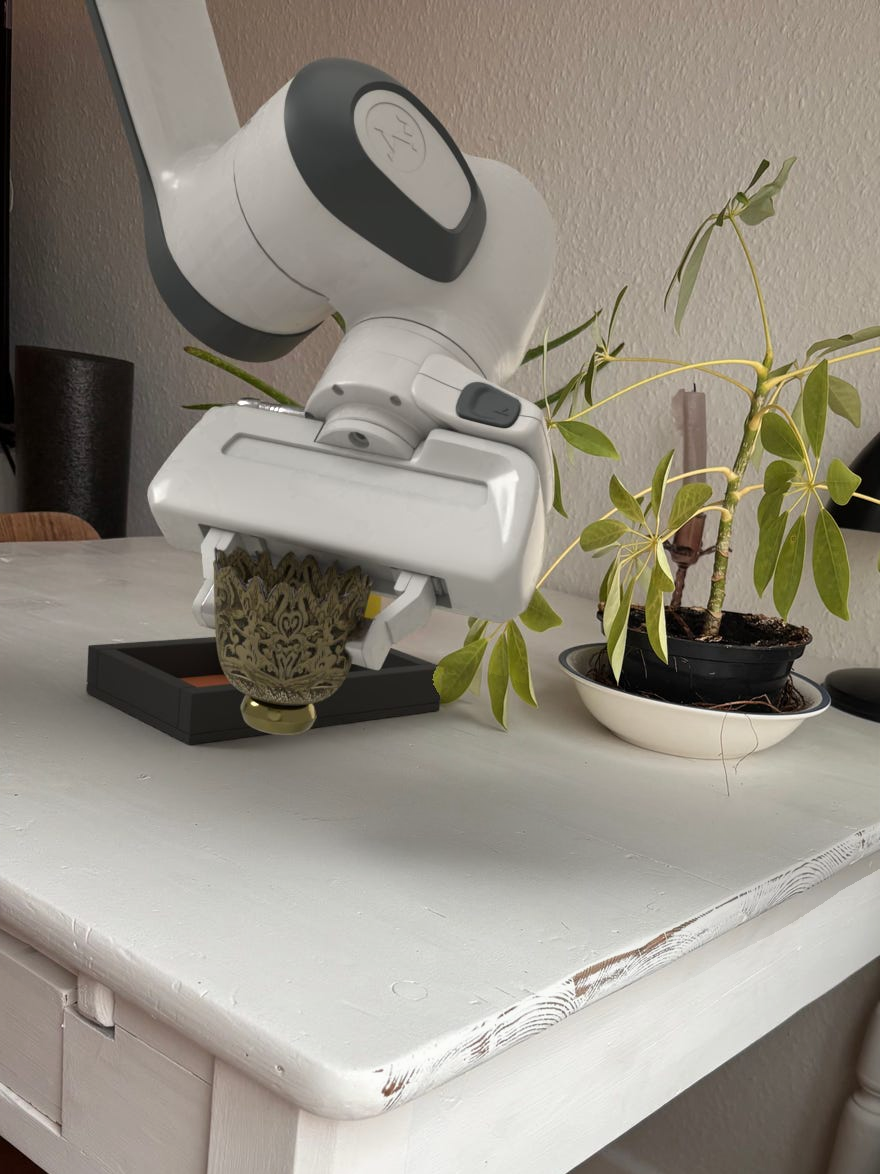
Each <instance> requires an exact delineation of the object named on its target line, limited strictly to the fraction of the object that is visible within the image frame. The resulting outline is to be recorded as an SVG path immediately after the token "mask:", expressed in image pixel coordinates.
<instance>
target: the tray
mask: <svg viewBox="0 0 880 1174" xmlns="http://www.w3.org/2000/svg"><path fill="white" fill-rule="evenodd" d="M437 666H439V665H438V664H436V663H433V662H430V661H427V660H424V659H422V658H419V657H417V656H415V655H411V654H408V653H406V652H403V651H401V650H398V649H395V648H393V647H391V648H390V650H389V652H388V654H387V656H386V658H385V660H384V663H383V665H382V667H381V668H380V669H379V670H374V669H370V668H366V667H362V666H358V665H355V664H351V667H350V669H349V671H348V674H347V676H346V678H345V680H344V681H343V683H342V684H341V686H340V687H339V688H338V689H337V690H336V691H335V692H334V693H333V694H332V695H331V696H329V697H327V698H326V699H324V700H322V701H319V702H316V703H314V705H315V709H316V713H317V716H316V719H315V721H314V723H313V725H312V726H311V727H310V729H314V728H320V727H329V726H336V725H342V724H350V723H358V722H364V721H373V720H378V719H380V720H381V719H387V718H393V717H394V718H395V717H401V716H402V717H403V716H408V715H410V716H411V715H415V714H423V713H428V712H429V713H430V712H438V711H440V706H441V699H442V698H440V695H439V693H438V692H437V690H436V688H435V686H434V685H433V683H434V681H433V680H432V679H433V674H434V671H435V670H436V667H437ZM86 670H87V671H86V672H87V673H86V693H87V694H88V695H91V696H92V697H94V698H97V699H98V700H100V701H103V702H104V703H106V704H108V705H110V706H112V707H114V708H116V709H118V710H120V711H122V712H124V713H126V714H128V715H130V716H132V717H133V718H135V719H137V720H140V721H141V722H143V723H145V724H147V725H149V726H151V727H153V728H155V729H157V730H159V731H161V732H163V733H165V734H167V735H169V736H171V737H173V738H175V739H177V740H179V741H181V742H183V743H184V744H187V745H188V746H190V745H197V744H204V743H212V742H220V741H228V740H235V739H241V738H248V737H255V736H256V737H257V736H262V735H264V736H265V735H270V734H271V733H266V732H262V731H259V730H257V729H255V728H253V727H251V726H249V725H248V724H247V723H246V722H245V721H244V719H243V717H242V714H241V710H240V704H241V702H242V700H243V698H244V696H245V695H246V694H244V693H242V692H241V691H239V690H238V689H237V688H235V687H234V686H233V685H232V684H231V683H230V681H229V680H228V679H227V677H226V676H225V674H224V672H223V670H222V667H221V664H220V661H219V657H218V651H217V644H216V636H207V637H191V638H178V639H163V640H162V639H161V640H149V641H148V640H147V641H134V642H133V641H132V642H117V643H102V644H101V643H100V644H89V645H87V669H86ZM271 735H272V734H271Z"/></svg>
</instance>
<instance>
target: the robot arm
mask: <svg viewBox="0 0 880 1174" xmlns="http://www.w3.org/2000/svg"><path fill="white" fill-rule="evenodd" d="M84 3H85V7H86V10H87V14H88V17H89V20H90V23H91V27H92V30H93V33H94V36H95V40H96V42H97V46H98V49H99V52H100V56H101V59H102V62H103V65H104V69H105V72H106V75H107V77H108V82H109V85H110V88H111V90H112V95H113V97H114V101H115V104H116V107H117V110H118V113H119V117H120V120H121V123H122V127H123V129H124V130H123V131H124V133H125V136H126V140H127V142H128V145H129V150H130V153H131V156H132V160H133V163H134V167H135V171H136V174H137V180H138V183H139V188H140V189H139V190H140V195H141V205H142V216H143V217H142V218H143V235H144V237H143V238H144V246H145V254H146V260H147V264H148V267H149V271H150V275H151V277H152V280H153V282H154V285H155V287H156V289H157V291H158V293H159V295H160V298H161V299H162V301H163V303H164V304H165V305H166V308H167V309H168V310H169V312H170V313H171V315H172V316H173V317H174V318H175V319H176V321H177V322H178V323H179V324H180V326H182V327H183V328H184V329H185V330H186V331H187V333H189V334H190V335H191V336H193V337H194V338H195V339H196V340H198V341H199V342H200V343H202V344H203V345H204V346H205V347H208V348H209V349H211V350H213V351H214V352H216V353H218V354H220V355H222V356H225V357H227V358H230V359H233V360H235V361H240V362H245V363H252V364H253V363H254V364H255V363H256V364H261V363H269V362H273V361H276V360H279V359H282V358H284V357H285V356H287V355H289V354H290V353H291V352H292V351H293V350H294V349H296V347H298V346H299V345H300V344H301V343H302V342H303V341H304V340H306V339H307V338H308V337H309V336H310V335H311V334H313V332H315V331H316V330H317V329H318V328H319V327H320V326H321V325H322V324H323V323H324V322H325V321H326V320H327V319H328V318H329V317H331V316H332V315H334V314H335V313H338V314H339V315H340V316H341V317H342V319H343V321H344V325H345V331H344V336H343V337H342V338H341V339H342V340H341V341H340V342H339V344H338V346H337V348H336V350H335V352H334V353H333V355H332V358H331V359H330V360H329V362H328V364H327V366H326V368H325V370H324V372H323V373H322V375H321V377H320V379H319V380H318V382H317V384H316V386H315V387H314V389H313V391H312V393H311V394H310V397H309V398H308V400H307V401H306V404H305V407H304V406H299V405H294V404H286V403H285V404H284V403H273V402H269V401H268V402H267V401H264V400H263V399H261V398H257V397H250V396H243V397H238V399H237V400H236V402H229V403H225V404H222V405H220V406H217V405H216V406H213V407H211V408H209V409H208V410H207V411H206V412H205V413H204V414H203V415H202V418H201V419H200V420H199V421H198V422H197V423H196V424H195V425H194V426H193V427H191V430H190V431H188V433H187V434H186V435H185V436H184V438H183V439H182V440H181V441H180V442H179V443H178V445H177V446H176V447H175V449H174V450H173V451H172V452H171V453H170V454H169V456H168V457H167V458H166V460H165V461H164V462H163V464H162V465H161V467H160V468H159V469H158V471H157V472H156V474H155V476H154V477H153V479H152V480H151V481H150V484H149V485H148V487H147V492H146V493H147V494H146V495H147V496H146V497H147V502H148V505H149V509H150V511H151V514H152V516H153V518H154V520H155V523H156V524H157V527H158V528H159V529H160V531H161V533H162V535H163V536H164V538H165V540H166V542H168V544H170V546H171V547H172V548H175V549H178V550H181V551H186V552H190V553H194V554H199V555H201V560H202V561H201V563H202V565H201V566H202V575H203V580H204V582H203V583H202V585H201V588H200V589H199V591H198V592H197V595H196V596H195V598H194V599H193V602H192V607H191V611H192V615H193V616H194V619H195V620H196V622H197V623H198V625H199V626H200V627H204V628H208V629H212V630H215V609H214V567H213V562H214V560H215V559H216V554H217V552H218V550H219V549H220V550H222V551H223V552H224V553H225V554H226V556H228V554H229V553H230V552H231V551H232V550H233V549H234V548H236V547H238V546H239V547H241V548H242V549H244V550H245V551H246V552H247V553H248V554H249V555H250V556H251V558H252V559H253V560H257V561H258V556H259V555H260V554H261V552H263V551H264V550H269V551H270V552H271V559H272V564H273V566H274V569H275V568H276V567H277V564H278V563H279V561H280V560H281V559H282V558H283V557H284V555H285V554H287V553H288V552H290V551H292V552H293V553H294V554H295V556H296V557H297V559H298V560H299V561H300V562H303V560H304V559H305V557H306V556H307V555H312V556H313V557H314V558H315V560H316V562H317V565H318V567H320V569H321V573H322V577H323V575H324V573H325V572H326V570H327V568H328V567H329V566H330V565H331V564H332V563H333V562H334V561H335V560H337V561H338V563H339V567H340V574H342V573H344V572H345V571H346V570H347V569H351V568H352V567H354V566H360V567H361V569H362V575H363V576H364V575H366V574H369V584H370V583H371V582H372V583H373V584H372V589H371V592H370V593H371V594H375V595H379V596H381V597H383V598H388V599H391V600H392V599H393V601H391V603H390V604H389V605H387V606H386V607H384V609H381V611H380V613H379V614H377V615H376V616H375V617H374V618H373V619H371V618H366V617H360V619H359V620H358V622H357V624H356V625H355V627H354V628H353V630H352V632H351V633H350V634H349V636H348V637H347V638H346V640H345V642H344V651H345V654H346V655H347V656H349V657H348V661H349V663H351V664H355V665H358V666H362V667H366V668H370V669H374V670H379V669H380V668H381V667H382V665H383V663H384V660H385V658H386V656H387V654H388V652H389V650H390V648H392V647H393V645H396V644H398V643H400V642H402V640H404V639H406V638H407V637H408V636H410V635H411V634H413V633H415V632H416V631H417V630H419V629H420V628H421V627H424V626H425V625H426V624H428V622H429V620H430V618H431V616H432V614H433V611H434V609H435V610H440V611H444V612H448V613H452V614H458V615H460V616H465V617H471V618H474V619H479V620H483V621H487V622H491V623H494V624H506V623H507V622H510V621H511V620H513V619H515V618H516V617H519V616H520V615H521V614H523V613H525V611H526V610H527V609H528V607H529V604H530V603H531V600H532V598H533V596H534V594H535V591H536V589H537V586H538V582H539V579H540V576H541V572H542V569H543V566H544V563H545V558H546V553H547V549H548V543H549V534H548V526H547V516H548V515H549V513H550V511H551V509H552V507H553V504H554V501H555V480H556V479H555V463H554V462H555V461H554V456H553V448H552V443H551V439H550V433H549V429H548V425H547V422H546V419H545V415H544V412H543V411H542V409H541V408H540V407H539V406H538V405H537V404H535V403H534V402H531V401H529V400H528V399H526V398H523V397H522V396H519V395H517V394H516V393H513V392H511V391H509V390H507V389H505V388H504V387H505V386H506V385H507V384H508V383H509V382H510V381H511V380H512V379H513V378H514V376H515V375H516V373H517V372H518V370H519V369H520V367H521V365H522V362H523V361H524V359H525V357H526V355H527V353H528V350H529V348H530V346H531V344H532V342H533V339H534V337H535V335H536V333H537V331H538V328H539V325H540V323H541V321H542V318H543V315H544V312H545V310H546V307H547V304H548V301H549V298H550V294H551V292H552V287H553V282H554V278H555V274H556V273H555V272H556V265H557V264H556V263H557V234H556V228H555V222H554V219H553V216H552V214H551V211H550V209H549V206H548V204H547V202H546V200H545V199H544V197H543V196H542V194H541V193H540V192H539V191H538V189H537V188H536V186H535V185H534V184H533V183H532V182H531V181H530V180H529V179H528V178H527V177H526V176H524V175H523V174H522V173H521V172H520V171H518V170H517V169H515V168H514V167H512V166H510V165H508V164H506V163H504V162H503V161H499V160H496V159H493V158H487V157H480V156H474V155H470V154H469V153H466V152H464V151H462V150H460V148H459V147H458V145H457V143H456V142H455V140H454V138H453V137H452V135H451V134H450V133H449V132H448V130H447V129H446V127H445V126H444V125H443V124H442V122H441V121H440V120H439V119H438V118H437V117H436V115H435V114H434V113H433V112H432V111H431V110H430V108H428V107H427V106H426V105H425V104H424V103H423V102H422V100H420V99H419V98H418V97H417V96H416V95H415V94H414V93H413V91H411V90H409V89H408V87H406V85H404V84H403V83H402V82H400V81H399V80H397V79H396V78H394V77H393V76H392V75H390V74H388V73H387V72H385V71H383V70H382V69H380V68H378V67H375V66H373V65H372V64H368V63H365V62H363V61H360V60H356V59H352V58H348V57H347V58H346V57H337V56H335V57H331V56H330V57H322V58H319V59H316V60H314V61H312V62H309V63H307V64H306V65H305V66H303V67H302V68H301V69H300V70H299V71H298V72H297V73H296V74H295V75H294V77H292V78H291V79H289V81H288V82H286V83H285V84H284V85H283V86H282V87H281V88H280V89H279V90H278V91H277V92H275V93H274V95H272V96H271V97H270V98H269V99H268V100H267V101H265V102H264V104H263V105H261V106H260V107H259V108H258V109H257V110H256V111H255V112H254V113H253V114H252V115H250V118H249V119H248V120H247V121H246V122H245V124H244V125H243V126H242V127H241V125H240V122H239V118H238V114H237V111H236V107H235V103H234V100H233V96H232V93H231V90H230V87H229V83H228V79H227V75H226V72H225V68H224V64H223V61H222V57H221V54H220V49H219V47H218V43H217V39H216V36H215V32H214V29H213V25H212V22H211V19H210V18H211V17H210V15H209V11H208V7H207V4H206V3H207V2H206V0H84ZM253 560H252V561H253ZM257 561H256V562H257ZM253 562H254V561H253ZM256 562H255V563H256ZM300 562H299V563H300ZM274 563H275V564H274Z"/></svg>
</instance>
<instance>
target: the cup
mask: <svg viewBox="0 0 880 1174" xmlns="http://www.w3.org/2000/svg"><path fill="white" fill-rule="evenodd" d="M252 560H253V559H252V558H251V556H250V555H249V554H248V553H247V552H246V551H245V550H244V549H242V548H241V547H239V546H238V547H236V548H234V549H233V550H232V551H231V552H230V553H229V554H228V556H226V554H225V553H224V552H223V551H222V550H220V549H219V550H218V552H217V554H216V559H215V560H214V562H213V567H214V609H215V629H214V631H215V633H214V634H215V637H216V644H217V651H218V657H219V661H220V664H221V667H222V670H223V672H224V674H225V676H226V677H227V679H228V680H229V681H230V683H231V684H232V685H233V686H234V687H235V688H237V689H238V690H239V691H241V692H242V693H244V694H246V695H245V696H244V698H243V700H242V702H241V704H240V710H241V714H242V717H243V719H244V721H245V722H246V723H247V724H248V725H249V726H251V727H253V728H255V729H257V730H259V731H262V732H266V733H271V735H276V736H277V735H280V736H294V735H299V734H302V733H306V732H307V731H309V730H310V729H311V728H310V727H311V726H312V725H313V723H314V721H315V719H316V716H317V713H316V709H315V705H314V703H316V702H319V701H322V700H324V699H326V698H327V697H329V696H331V695H332V694H333V693H334V692H335V691H336V690H337V689H338V688H339V687H340V686H341V684H342V683H343V681H344V680H345V678H346V676H347V674H348V671H349V669H350V667H351V663H349V661H348V657H349V656H347V655H346V654H345V651H344V642H345V640H346V638H347V637H348V636H349V634H350V633H351V632H352V630H353V628H354V627H355V625H356V624H357V622H358V620H359V619H360V617H364V616H365V612H366V607H367V603H368V599H369V596H370V592H371V589H372V584H373V583H372V582H371V583H370V584H369V574H366V575H364V576H363V575H362V569H361V567H360V566H354V567H352V568H351V569H347V570H346V571H345V572H344V573H342V574H340V567H339V563H338V561H337V560H335V561H334V562H333V563H332V564H331V565H330V566H329V567H328V568H327V570H326V572H325V573H324V575H323V577H322V573H321V569H320V567H318V565H317V562H316V560H315V558H314V557H313V556H312V555H307V556H306V557H305V559H304V560H303V562H300V561H299V560H298V559H297V557H296V556H295V554H294V553H293V552H292V551H290V552H288V553H287V554H285V555H284V557H283V558H282V559H281V560H280V561H279V563H278V564H277V567H276V568H275V569H274V566H273V564H272V559H271V552H270V551H269V550H264V551H263V552H261V554H260V555H259V556H258V561H257V560H253V561H254V562H253V561H252ZM256 561H257V562H256ZM255 562H256V563H255ZM299 562H300V563H299ZM274 564H275V563H274Z"/></svg>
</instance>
